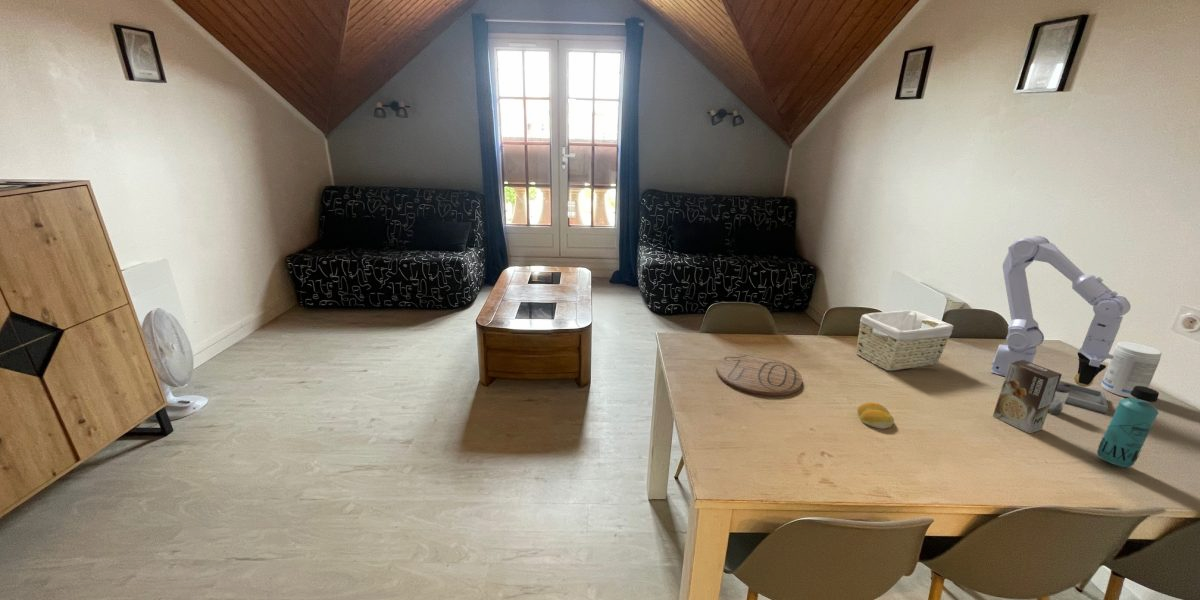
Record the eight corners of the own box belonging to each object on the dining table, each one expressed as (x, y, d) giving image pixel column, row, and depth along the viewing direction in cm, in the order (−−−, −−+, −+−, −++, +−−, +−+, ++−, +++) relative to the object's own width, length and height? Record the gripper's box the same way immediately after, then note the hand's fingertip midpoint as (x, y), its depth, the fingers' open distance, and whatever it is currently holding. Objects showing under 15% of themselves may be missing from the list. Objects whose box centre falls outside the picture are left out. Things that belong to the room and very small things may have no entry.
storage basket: (902, 346, 179) (912, 308, 174) (945, 367, 164) (957, 325, 159) (849, 353, 171) (858, 313, 166) (889, 375, 157) (900, 332, 152)
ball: (1072, 385, 145) (1077, 373, 144) (1071, 381, 148) (1076, 369, 147) (1091, 390, 143) (1096, 378, 142) (1090, 385, 146) (1095, 373, 145)
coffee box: (1043, 429, 130) (1064, 374, 125) (1029, 434, 128) (1050, 378, 123) (1005, 411, 138) (1023, 359, 133) (990, 415, 136) (1008, 362, 130)
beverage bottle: (1085, 455, 120) (1117, 381, 113) (1110, 455, 121) (1143, 381, 114) (1114, 473, 114) (1149, 396, 107) (1140, 473, 114) (1177, 396, 108)
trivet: (709, 386, 146) (710, 380, 145) (722, 353, 168) (723, 348, 167) (800, 405, 137) (801, 399, 137) (801, 368, 159) (803, 363, 159)
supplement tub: (1147, 394, 151) (1167, 350, 146) (1139, 402, 146) (1159, 357, 141) (1104, 381, 159) (1122, 338, 154) (1095, 388, 154) (1113, 344, 149)
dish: (1049, 398, 146) (1051, 392, 146) (1049, 384, 155) (1051, 378, 154) (1105, 413, 139) (1108, 407, 139) (1101, 397, 148) (1104, 391, 147)
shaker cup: (1038, 410, 140) (1048, 384, 137) (1038, 404, 143) (1048, 378, 140) (1061, 417, 137) (1072, 390, 134) (1061, 410, 140) (1071, 384, 137)
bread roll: (863, 428, 128) (866, 414, 127) (853, 409, 136) (856, 397, 135) (898, 432, 127) (902, 418, 125) (885, 413, 135) (889, 400, 134)
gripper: (1122, 349, 133) (1104, 394, 138) (1116, 334, 144) (1099, 376, 148) (1087, 342, 137) (1070, 385, 142) (1083, 327, 148) (1068, 369, 152)
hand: (1082, 380), depth 145 cm, fingers closed on ball, 4 cm apart
